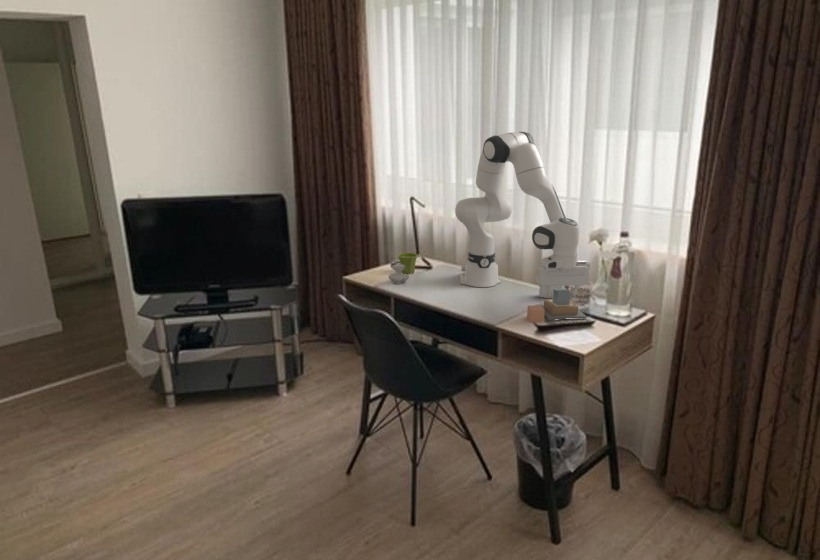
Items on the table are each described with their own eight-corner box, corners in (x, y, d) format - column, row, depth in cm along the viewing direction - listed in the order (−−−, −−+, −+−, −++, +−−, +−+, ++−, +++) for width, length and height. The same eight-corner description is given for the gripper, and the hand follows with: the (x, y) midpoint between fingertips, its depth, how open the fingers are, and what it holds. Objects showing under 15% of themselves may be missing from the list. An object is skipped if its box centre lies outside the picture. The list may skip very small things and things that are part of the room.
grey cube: (552, 300, 235) (553, 288, 233) (564, 300, 235) (565, 288, 234) (557, 305, 230) (558, 292, 228) (569, 304, 230) (570, 292, 229)
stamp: (410, 283, 270) (410, 265, 268) (401, 286, 266) (401, 268, 263) (396, 279, 276) (396, 261, 274) (386, 282, 271) (386, 264, 269)
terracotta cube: (526, 317, 229) (527, 305, 227) (539, 317, 229) (540, 305, 228) (530, 322, 224) (531, 310, 223) (543, 322, 225) (544, 309, 223)
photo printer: (537, 297, 252) (539, 269, 249) (539, 294, 256) (542, 266, 252) (562, 300, 248) (564, 272, 245) (564, 297, 252) (566, 269, 248)
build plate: (535, 307, 240) (536, 297, 239) (571, 306, 242) (572, 296, 240) (548, 320, 226) (548, 309, 225) (586, 319, 227) (587, 308, 226)
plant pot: (407, 276, 280) (407, 258, 278) (393, 272, 287) (393, 254, 284) (421, 272, 286) (421, 255, 284) (408, 268, 293) (408, 251, 290)
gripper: (587, 258, 232) (584, 292, 236) (536, 259, 229) (533, 293, 234) (594, 262, 226) (590, 297, 230) (541, 264, 223) (539, 299, 228)
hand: (561, 295), depth 232 cm, fingers open, 8 cm apart
